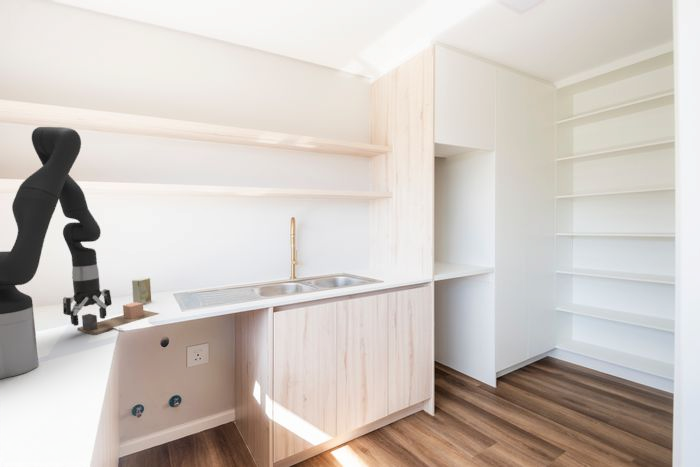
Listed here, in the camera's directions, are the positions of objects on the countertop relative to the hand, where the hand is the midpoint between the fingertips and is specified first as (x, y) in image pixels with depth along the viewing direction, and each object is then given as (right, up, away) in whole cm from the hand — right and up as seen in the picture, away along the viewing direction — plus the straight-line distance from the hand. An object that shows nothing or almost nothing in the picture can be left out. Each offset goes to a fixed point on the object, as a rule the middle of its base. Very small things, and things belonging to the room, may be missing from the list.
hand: (89, 321), depth 126 cm
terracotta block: (+8, -2, +14) cm, 16 cm away
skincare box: (0, -1, +33) cm, 33 cm away
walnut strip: (+5, -3, +9) cm, 11 cm away
